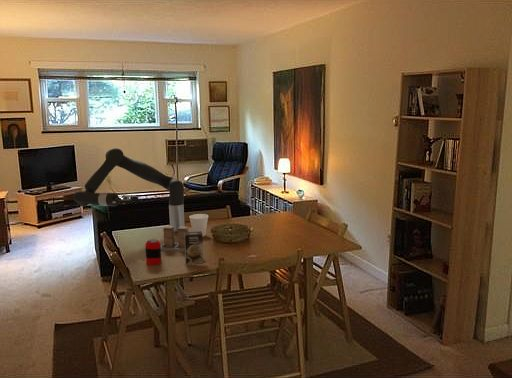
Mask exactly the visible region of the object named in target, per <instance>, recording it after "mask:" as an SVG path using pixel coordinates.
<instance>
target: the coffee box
mask: <svg viewBox="0 0 512 378" xmlns="http://www.w3.org/2000/svg"><path fill="white" fill-rule="evenodd" d="M184 235H185V252H184V257H185V258H184V259H185V266H194V265H195V266H196V265H204V244H203V243H204V242H203V240H204V239H203V237H204V236H202V232H201V231H198V232H193V231H188V232H184Z"/></svg>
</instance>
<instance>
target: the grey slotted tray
mask: <svg viewBox="0 0 512 378" xmlns="http://www.w3.org/2000/svg"><path fill="white" fill-rule="evenodd" d="M160 247H161V252H176V253H185V249H182V248H179V244H178V242H175V247H174V248H164V243H162V244H160Z"/></svg>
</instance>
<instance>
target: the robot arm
mask: <svg viewBox="0 0 512 378" xmlns="http://www.w3.org/2000/svg"><path fill="white" fill-rule="evenodd" d="M104 156H105V160H104V161H103V162H102V164H101V165H100V167H99V168H98V169H97V170H96V171H95V172H94V173H93V174H92V175H91V177H90V178H89V179H88V180H87V182H86V183H85V184H84V189H85V190H78V191H77V190H76V192H74V194H73V200H74V202H75V203H77V204H78V205H79V206H80V207H82V208H83V207H84V208H85V207H87V206H89V205H93V206H104V207H117V206H119V205H120V206H122V205H125V204H126V205H127V204H128V205H130V204H132V203H133V201H139V199H140V197H139V196H136V195H135V196H134V195H133V194H128V195H127V194H123V195H119V194H118V193H117V192H96V191H97V190H98V189H99V188H100V186H101V185H102V183H103V182H104V180H105V179H107V177H108V176H109V174H110V173H111V172H112V171H113V170H114V169H115V167H119V168H122V169H123V170H126V171H127V172H129V173H131V174H133V175H135V176H136V177H138V178H140V179H142V180H144V181H147V182H148V183H152V184H156V185H158V186H160V187H162V188H164V189H165V190H167V191H168V192H169V200H168V210H169V211H168V213H169V226H174V233H176V232H177V233H178V228H179V227H180V226H184V227H185V212H184V211H185V209H184V207H185V206H184V201H185V187H184V184H183V182H182V181H180V180H179V179H177V178H173V177H171V176H168V175H167V174H164V173H163V172H162V171H159V170H158V169H157V168H155V167H153V166H152V165H150V164H147V163H145V162H142V161H139V160H137V159H132V158H129V157H128V156H126V155H125V154H124V152H123V150H122V149H120V148H116V147H115V148H111V149H109V150H107V152H106V153H105V155H104Z"/></svg>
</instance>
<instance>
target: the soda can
mask: <svg viewBox="0 0 512 378" xmlns="http://www.w3.org/2000/svg"><path fill="white" fill-rule="evenodd" d="M144 245H145V259H146V260H145V261H146V264H147V265H148V266H157V265H161V263H162V251H161V247H160V246H161V242H160V240H158V239H156V238H152V239H147V241H146V242H145V244H144Z"/></svg>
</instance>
